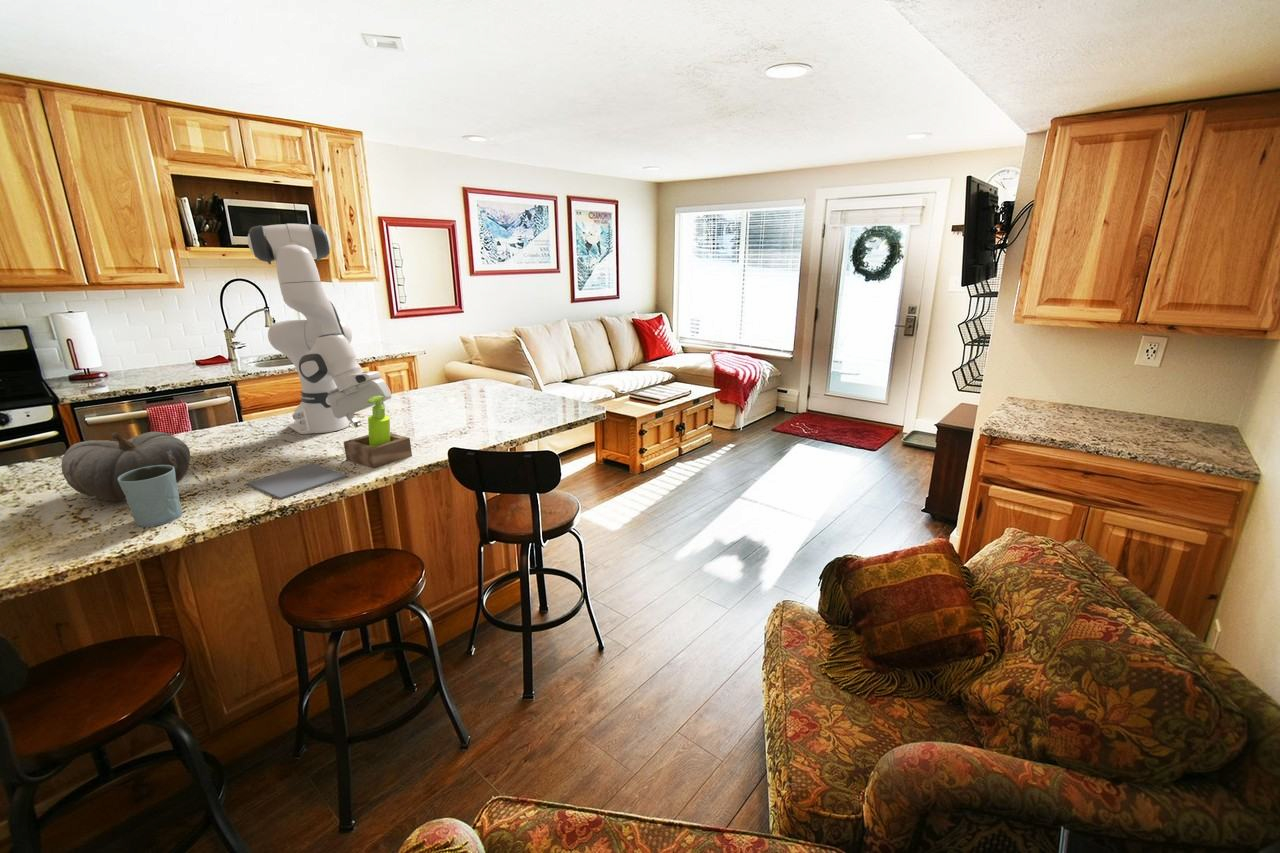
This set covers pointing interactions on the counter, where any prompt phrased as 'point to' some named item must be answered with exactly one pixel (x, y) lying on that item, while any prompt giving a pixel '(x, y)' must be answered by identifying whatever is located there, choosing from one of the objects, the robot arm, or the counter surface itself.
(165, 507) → the blue gray cup
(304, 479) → the slate mat
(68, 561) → the counter surface
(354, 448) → the box
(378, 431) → the soap dispenser
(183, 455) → the gourd
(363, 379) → the robot arm
